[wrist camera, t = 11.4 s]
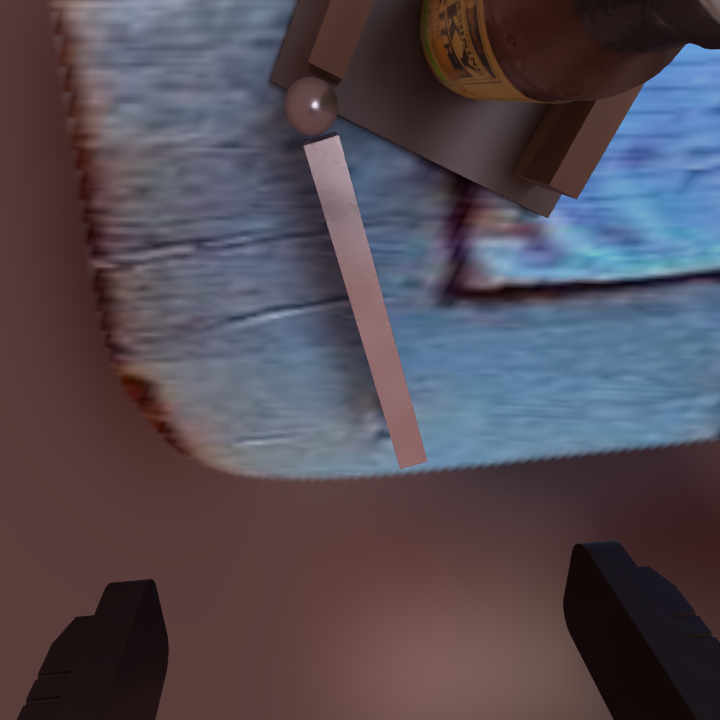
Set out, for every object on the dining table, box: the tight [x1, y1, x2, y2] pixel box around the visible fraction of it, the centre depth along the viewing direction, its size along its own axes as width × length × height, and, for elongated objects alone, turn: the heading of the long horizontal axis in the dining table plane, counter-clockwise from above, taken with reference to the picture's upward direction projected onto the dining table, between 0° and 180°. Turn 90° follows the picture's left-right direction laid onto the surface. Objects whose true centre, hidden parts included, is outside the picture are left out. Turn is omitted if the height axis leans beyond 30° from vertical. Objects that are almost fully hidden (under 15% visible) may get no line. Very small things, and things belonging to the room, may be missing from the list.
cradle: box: [271, 0, 644, 218], centre depth 24 cm, size 16×14×6 cm
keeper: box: [285, 77, 427, 469], centre depth 27 cm, size 19×2×6 cm, turn 16°
